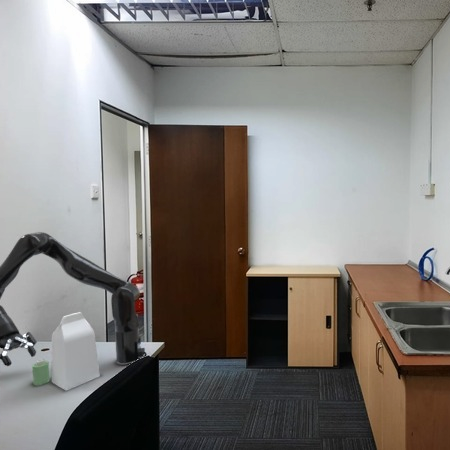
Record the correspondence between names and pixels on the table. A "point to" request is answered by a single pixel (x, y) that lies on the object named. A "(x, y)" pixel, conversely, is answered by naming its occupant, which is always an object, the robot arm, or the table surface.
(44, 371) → the soap bottle
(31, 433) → the table surface
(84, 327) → the milk
